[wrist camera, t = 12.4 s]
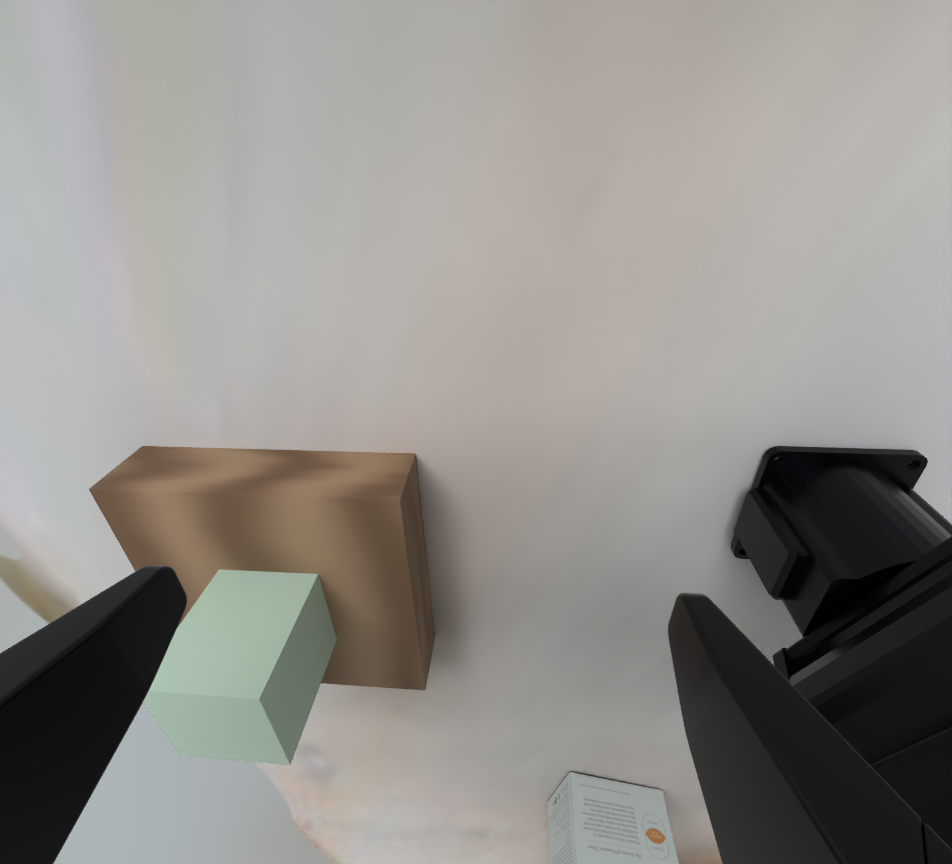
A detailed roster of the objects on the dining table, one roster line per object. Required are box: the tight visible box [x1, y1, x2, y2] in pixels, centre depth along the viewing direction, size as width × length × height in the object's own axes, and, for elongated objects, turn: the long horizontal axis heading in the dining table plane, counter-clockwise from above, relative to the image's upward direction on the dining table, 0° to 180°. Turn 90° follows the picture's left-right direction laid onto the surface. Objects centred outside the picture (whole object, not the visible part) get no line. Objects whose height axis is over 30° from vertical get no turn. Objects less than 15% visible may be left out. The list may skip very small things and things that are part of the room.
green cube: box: [143, 570, 337, 765], centre depth 22 cm, size 5×5×6 cm
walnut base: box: [89, 446, 435, 690], centre depth 26 cm, size 14×14×4 cm
